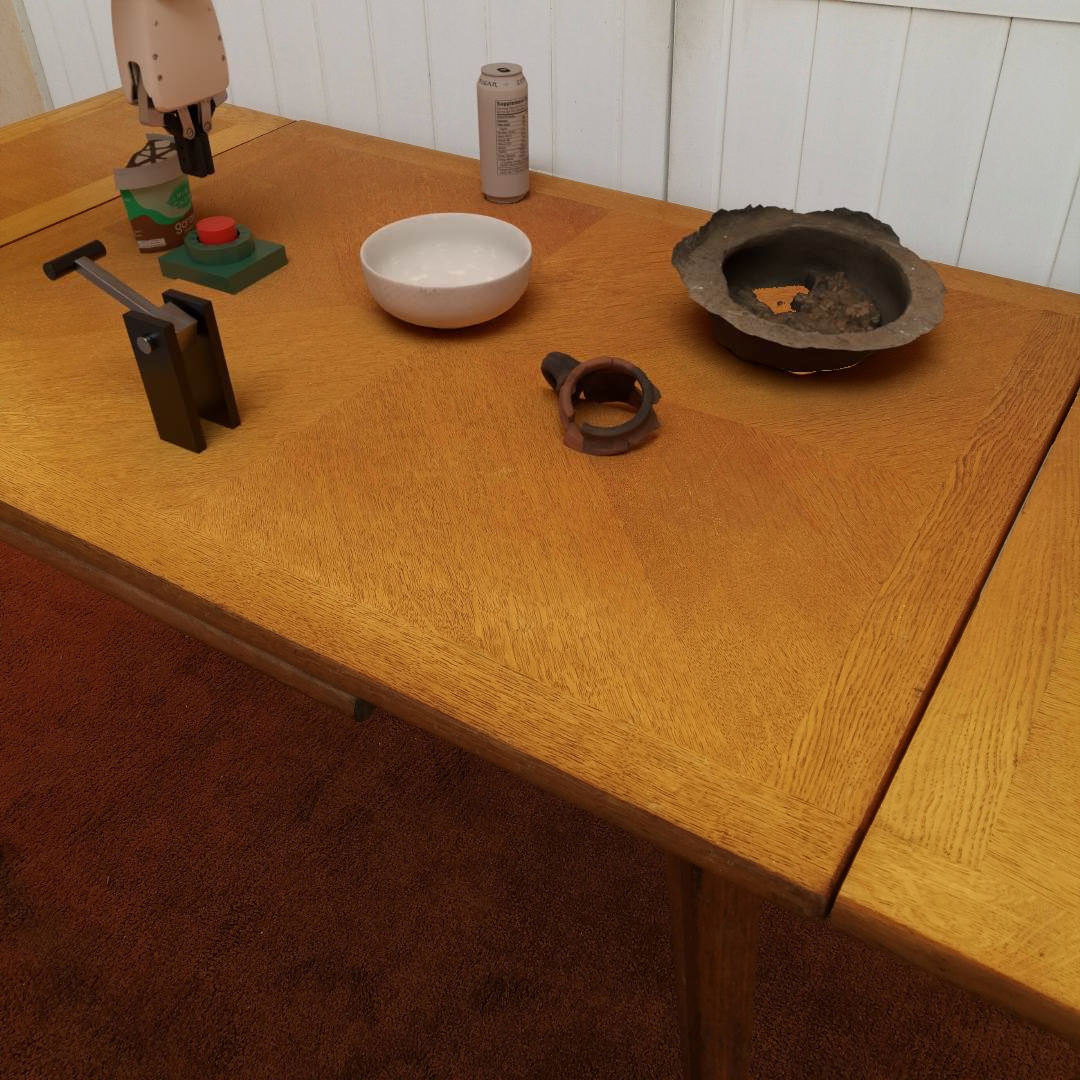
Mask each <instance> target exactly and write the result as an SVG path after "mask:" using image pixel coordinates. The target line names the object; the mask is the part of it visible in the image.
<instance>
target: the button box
mask: <svg viewBox="0 0 1080 1080" xmlns="http://www.w3.org/2000/svg"><path fill="white" fill-rule="evenodd" d="M235 226H236V230H237V235H238V238H237V239H236V240H234V241H232V242H229V243H224V244H220V245H206V244H202V243H200V240H199V236H198V232H197V228H196V229H195V230H193V231H191V232H189V233H188V234H187V236H186V237H185V239H184V242H185V244H184V245H182V246H180V247H178V248H175V249H171V250H169V251H167V252H166V253H164V254H163V255H161V256H158V257H157V260H158V264H159V267H160V271H161V275H162V277H164V278H168V279H171V280H174V281H176V280H178V279H179V280H181V281H185V282H189V283H192V284H196V285H198V286H202V287H205V288H208V289H212V290H214V291H215V290H216V291H219V292H222V293H225V294H229V295H233V296H235V295H236V294H238V293H240V292H242V291H244V290H246V289H247V288H248V287H249V288H250V287H251V286H252V285H254V284H256V283H257V282H259V281H261V280H263V279H264V278H266V277H268V276H269V275H271V274H273V273H275V272H276V271H279V270H280V269H282V268H283V267H285V266H287V265H288V263H289V262H288V256H287V252H286V246H285V245H283V244H280V243H276V242H272V241H268V240H265V239H261V238H257V237H254V235H253V232H252V230H251V229H250V228H249V227H248V226H247V225H243V224H239V223H236V222H235Z"/></svg>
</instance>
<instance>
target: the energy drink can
mask: <svg viewBox="0 0 1080 1080" xmlns="http://www.w3.org/2000/svg"><path fill="white" fill-rule="evenodd" d="M480 72H481V73H480V75H479V77H478V80H477V82H476V102H477V103H476V104H477V105H476V106H477V124H478V126H477V127H478V144H479V145H478V146H479V169H480V186H481V187H480V189H481V192H483V193H484V195H485V198H486V197H487V198H486V199H487V200H488V201H490V202H492V203H496V202H497V204H511V202H513V203H517V202H519V201H518V200H520V201H522V200H523V199H524V198H525V197H526V193H527V192H528V191H529V190H530V146H529V142H530V140H529V139H530V138H529V83H528V80H527V79H526V77H525V75H524V73H523V66H522V65H520V64H517V63H512V62H492V63H487V64H485V65H483V66H481V68H480ZM524 196H525V197H524ZM523 197H524V198H523ZM522 198H523V199H522ZM521 199H522V200H521ZM516 201H517V202H516Z"/></svg>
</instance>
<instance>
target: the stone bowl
mask: <svg viewBox="0 0 1080 1080" xmlns="http://www.w3.org/2000/svg"><path fill="white" fill-rule="evenodd" d="M670 260H671V261H670V262H671V266H673V268H674V269H675V270H676V271H677V273H678V275H679V278H680V281H681V283H683V285H684V286H685V287H686V288H687V291H688V297H689V298H690V299H691V300H693V301H694V302H696V303H697V304H698V305H700V306H701V307H703V308H704V309H706V311H707V313H708V317H709V322H710V327H711V332H712V333H713V335H714V337H715V339H716V341H718V343H719V344H720V345H721V346H722V347H724V348H726V349H730V350H731V352H732V353H733V354H734V355H735V356H737V357H738V358H739V357H740V359H741V358H742V359H741V360H744V361H749V362H750V363H753V362H754V363H755V362H756V363H761V364H764V365H766V366H770V367H772V368H776V369H780V370H783V371H785V370H786V371H785V372H788V371H791V372H813V371H819V372H821V371H822V370H834V369H835V370H836V369H840V368H844V367H848V366H852V365H854V364H856V363H858V362H859V363H861V362H862V361H863V360H864V359H865V358H867V357H869V356H870V355H872V354H874V353H875V352H877V351H878V350H883V349H891V348H896V347H900V346H904V345H907V344H910V343H911V342H913V341H916V340H917V338H920V336H921V335H924V334H928V333H929V332H930V331H931V330H933V328H935V327H937V326H940V325H941V322H942V321H943V319H944V314H945V305H944V303H943V301H944V296H945V295H946V294H947V293H948V292H949V291H948V289H947V287H946V286H945V283H944V282H943V280H942V278H941V277H940V275H939V273H938V272H937V270H936V268H935V267H934V266H933V265H931V264H930V263H929V262H927V261H926V260H924V259H922V258H921V257H920V256H919V255H918V254H917V253H916V252H914V251H913V250H911V249H909V247H907V246H903V244H901V239H900V236H898V234H897V233H896V232H895V230H894V229H893V227H892V226H891V224H889V223H885V222H882V221H881V220H880V219H879V218H878V219H877V218H875V217H874V216H872V215H871V213H869V212H866V211H863V210H852V209H849V208H848V207H845V206H842V207H834V208H833V210H830V209H825V210H814V211H808V212H805V213H801V212H795V211H794V208H791V209H787V208H786V207H779V206H777V205H770V206H769V205H767V206H763V205H762V204H760V203H759V204H758V205H756V206H755V207H753V206H752V203H749V204H748V205H746V206H745V207H744V208H734V209H730V210H728V209H724V208H719V209H718V210H717V211H715V212H714V213H712V215H711V217H710V219H708V220H707V221H706V223H705V224H704V225H701V226H699V229H698V230H695V231H694V232H692V233H690V234H688V235H687V236H682V238H681V241H678V242H677V243H676V244H675V246H673V249H672V253H671V259H670ZM794 285H795V286H798V285H799V286H804V287H805V288H807V289H808V290H809V292H808V294H807V295H806V294H804V293H800V292H799V293H797V295H796V296H794V298H793V301H792V302H791V303H790V305H791V309H792V310H794V311H795V310H796V312H792V311H788V312H783V313H782V312H781V313H777V314H774V312H773V311H772V310H771V308H770V307H769V306H768V305H767V304H765V303H763V302H760V301H759V300H758V299H757V298H756V297H757V295H756V294H755V293H753V291H754V290H755V289H759V288H760V289H761V288H764V289H765V288H773V287H776V288H778V287H786V286H794ZM752 290H753V291H752ZM783 303H784V304H785V302H782V301H779V302H777V305H778V306H780V305H782V304H783ZM846 332H847V333H846ZM861 360H862V361H861ZM859 363H858V364H859ZM856 365H857V364H856ZM836 371H837V370H836Z"/></svg>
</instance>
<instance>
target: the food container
mask: <svg viewBox="0 0 1080 1080" xmlns="http://www.w3.org/2000/svg"><path fill="white" fill-rule="evenodd" d="M145 136H146V141H147V142H146V144H145V145H144V146H143V148H141V149H140V150H138V151H137V152H135V153H133V154H132V156H131V157H130V158H129V161H128V162H127V164H126V166H125V167H124V168H112V171H113V178H114V185H115V189H116V191H119V193H120V196H121V199H122V202H123V205H124V208H125V211H126V214H127V218H128V221H129V223H130V226H131V229H132V232H133V235H134V238H135V241H136V244H137V247H138V250H139V253H140V255H146V254H155V253H163V252H169V251H172V250H174V249H176V248H178V247H180V246H182V245H184V244H185V242H184V239H185V237H186V236H187V234H188V233H189V232H191V231H193V230H195V229H197V228H196V224H197V222H196V217H195V216H196V215H195V210H194V204H193V199H192V193H191V192H192V191H191V186H190V180H189V175H187V174H184V173H182V171H181V168H180V164H179V159H178V155H177V150H176V145H175V141H174V136H173V135H169V134H163V133H153V132H152V133H151V132H146V133H145Z"/></svg>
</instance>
